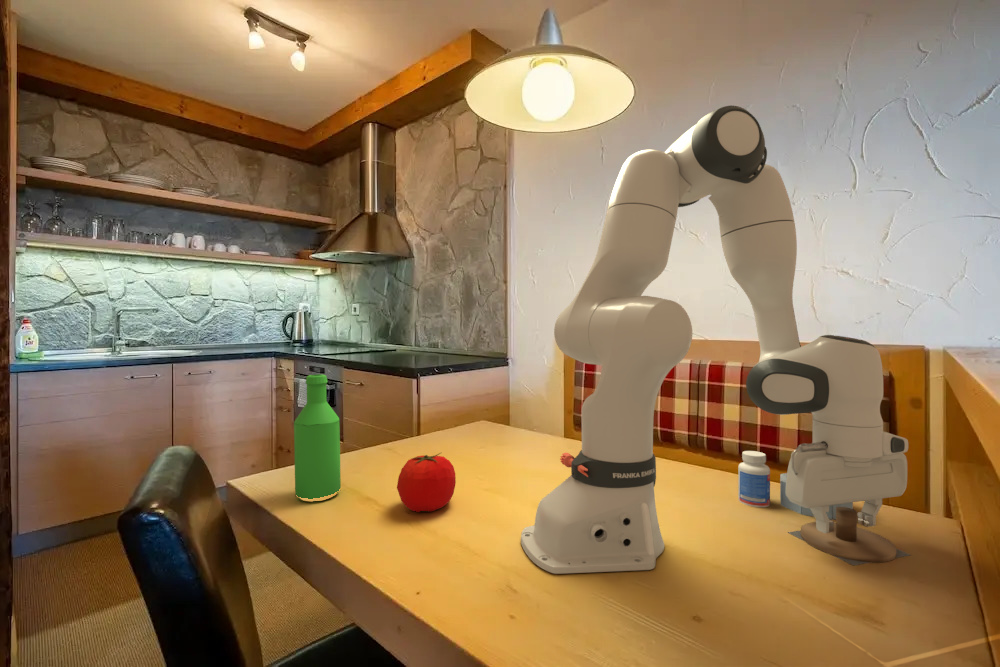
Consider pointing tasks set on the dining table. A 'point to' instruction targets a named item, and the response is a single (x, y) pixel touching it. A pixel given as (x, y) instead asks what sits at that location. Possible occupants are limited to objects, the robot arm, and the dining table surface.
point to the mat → (852, 562)
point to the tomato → (426, 483)
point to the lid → (849, 539)
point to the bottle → (317, 444)
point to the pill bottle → (754, 480)
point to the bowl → (802, 510)
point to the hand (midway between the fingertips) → (845, 528)
